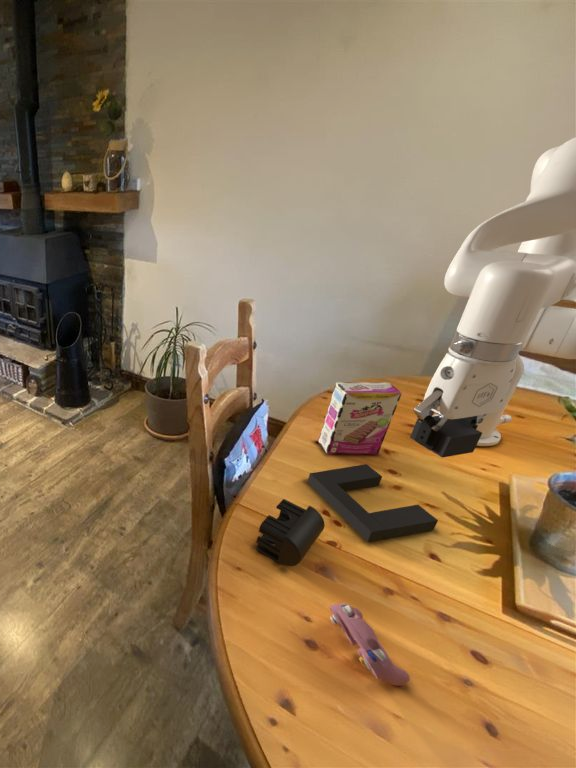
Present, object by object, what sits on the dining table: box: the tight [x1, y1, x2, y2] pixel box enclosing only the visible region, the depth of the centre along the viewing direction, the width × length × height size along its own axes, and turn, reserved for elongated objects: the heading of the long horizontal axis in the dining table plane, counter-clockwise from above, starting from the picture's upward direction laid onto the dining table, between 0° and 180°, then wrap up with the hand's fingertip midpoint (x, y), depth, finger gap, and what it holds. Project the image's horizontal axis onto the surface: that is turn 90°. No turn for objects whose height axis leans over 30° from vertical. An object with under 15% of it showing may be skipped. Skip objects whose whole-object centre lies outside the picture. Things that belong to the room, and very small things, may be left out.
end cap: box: [255, 498, 326, 567], centre depth 72 cm, size 10×7×7 cm
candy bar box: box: [318, 381, 403, 455], centre depth 92 cm, size 11×5×16 cm, turn 84°
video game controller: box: [329, 602, 411, 687], centre depth 56 cm, size 10×5×7 cm, turn 5°
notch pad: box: [307, 463, 439, 543], centre depth 80 cm, size 13×16×2 cm
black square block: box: [409, 415, 482, 459], centre depth 71 cm, size 6×6×4 cm
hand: (441, 441), depth 71 cm, fingers closed on black square block, 6 cm apart
